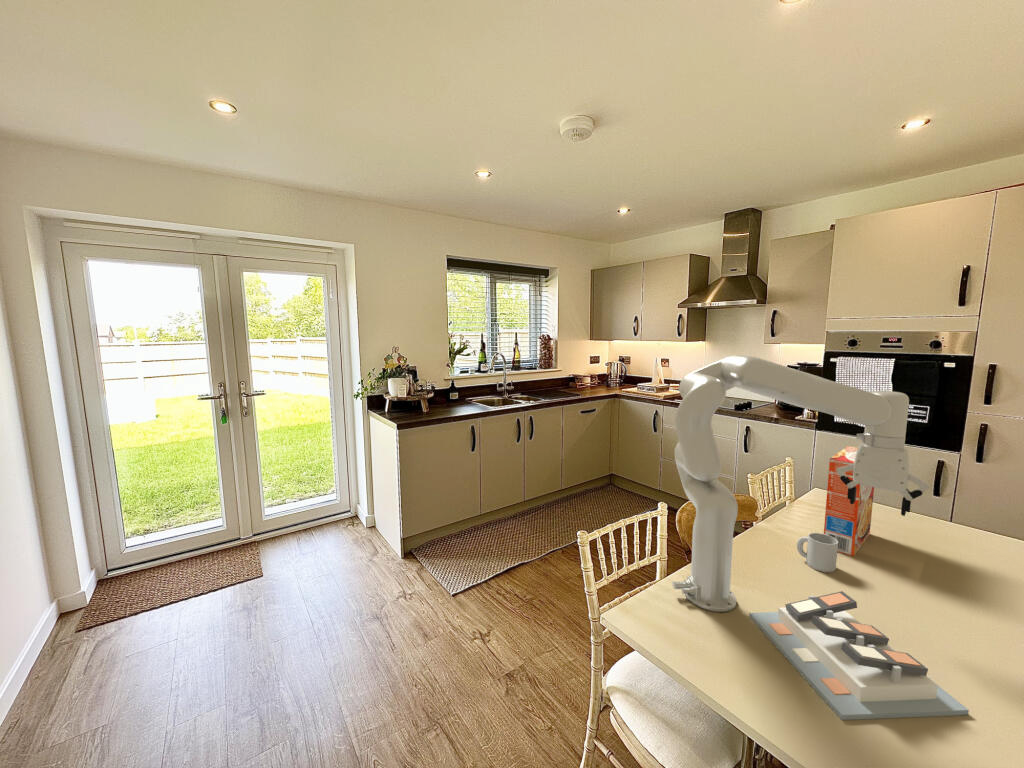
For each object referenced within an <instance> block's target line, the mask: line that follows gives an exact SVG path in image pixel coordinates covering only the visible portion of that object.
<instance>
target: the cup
mask: <svg viewBox="0 0 1024 768" xmlns="http://www.w3.org/2000/svg"><path fill="white" fill-rule="evenodd" d="M804 543H807V548H806V551H804ZM837 549H838V541H837V540H836V539H835V538H833V537H831V536H829V535H826V534H824V533H821V532H810V533H808V536H801V537H799V538H798V539H797V541H796V550H797V552H798V553H799V555H800V556H802V558H805V559H806V560H805V562H806V564H807V566H808V567H809V568H811V567H812V568H811V569H813V570H815V569H816V570H815V571H818V572H821V571H822V573H827V572H831V573H834V572H835V571H836V569H837V560H838V552H837Z"/></svg>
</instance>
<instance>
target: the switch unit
mask: <svg viewBox="0 0 1024 768" xmlns="http://www.w3.org/2000/svg"><path fill="white" fill-rule="evenodd" d="M815 597H816V596H815V595H808V599H811V598H815ZM748 615H749V619H750V620H752V622H754V624H755V625H756V626H757V627H758V628H759V629H760V630H761V631H762V632H763V634H764V635H765V636H766V637H767V638H768V639H769V640H770V641H771V643H772V644H773V645H774V646H775V647H776V649H778V650H779V651H780V653H781V654H782V655H783V656H784V657H785V659H787V661H789V663H790V664H791V666H793V667H794V669H795V670H796V671H797V672H798V673H799V674H800V675H801V676H802V677H803V678H804V679H805V681H806V682H807V683H808V684H809V685H810V686H811V687H812V688H813V690H814V691H815V692H816V693H817V695H819V696H820V698H821V699H822V700H823V701H824V702H825V703H826V704H827V705H828V706H829V708H831V710H832V711H833V712H834V713H835V715H836V716H837V717H839V719H840V720H841V721H848V720H849V721H850V720H851V721H852V720H872V719H873V720H874V719H875V720H876V719H896V718H897V719H899V718H902V719H903V718H919V717H920V718H921V717H922V718H923V717H941V716H942V717H948V716H949V717H951V716H969V712H970V709H968V708H967V707H966V706H964V705H963V704H962V703H961V702H960V701H958V700H957V699H956V698H954V697H953V696H952V695H951V694H949V693H948V691H946V690H945V689H943V688H942V687H940V685H939V684H938V683H936V681H934V680H933V679H932V678H931V677H929V676H928V675H926V676H922V675H916V674H910V673H904V672H901V671H902V668H901V667H900V666H893V667H892V670H886V669H880V668H874V667H868V666H862V665H858V664H857V663H855V662H854V661H853V660H852V659H851V658H850V657H849V656H848V655H847V654H846V653H845V652H843V651H842V650H841V647H842V644H843V642H844V643H850V644H856V645H862V646H868V647H874V648H879V649H885V650H891V651H896V650H895V649H894V648H893V647H891V646H890V645H889V644H887V645H882V644H877V643H871V642H865V641H864V637H863V636H862V635H861V636H856V640H853V639H847V638H841V637H835V636H829V635H825V634H824V633H823V632H822V631H821V630H819V629H818V628H817V627H816V626H815V625H814V624H813V623H812V622H811V620H812V618H811V619H806V620H802V621H797V620H796V619H795V618H794V617H793V616H792V615H791V614H790V613H789V612H788V611H787V610H786V606H785V607H784V606H783V607H778V611H771V612H769V611H767V612H749V614H748ZM820 617H825V618H831V619H836V620H842V621H848V622H854V623H860V624H862V623H861V622H860V621H859V620H857V619H856V618H855V617H854V616H852V614H850V613H849V612H847V610H846V611H841V612H837V613H834V612H833V611H832V610H826V615H824V616H820Z"/></svg>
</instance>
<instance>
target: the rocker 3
mask: <svg viewBox="0 0 1024 768" xmlns="http://www.w3.org/2000/svg"><path fill="white" fill-rule="evenodd" d="M841 650H842V651H843V652H845V653H846V654H847V655H848V656H849V657H850V658H851V659H852V660H853V661H854V662H855V663H857V664H858V665H862V666H868V667H874V668H880V669H886V670H892V667H893V666H900V667H901V668H902V671H901V672H904V673H910V674H916V675H922V676H926V675H927V674H928V671H929V669H928V668H927V667H926V666H925V665H924V664H923V663H921V662H920V661H919V660H917V659H916V658H915V657H913V656H912V655H911V654H909V653H907V652H901V651H896V650H895V651H891V650H885V649H879V648H874V647H868V646H862V645H856V644H850V643H844V642H843V644H842V647H841ZM927 676H928V675H927Z"/></svg>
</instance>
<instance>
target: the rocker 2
mask: <svg viewBox="0 0 1024 768" xmlns="http://www.w3.org/2000/svg"><path fill="white" fill-rule="evenodd" d="M811 622H812V623H813V624H814V625H815V626H816V627H817V628H818V629H819V630H821V631H822V632H823V633H824V634H825V635H829V636H835V637H841V638H847V639H853V640H856V636H861V635H862V636H863V637H864V641H865V642H871V643H877V644H882V645H887V644H888V643H889V641H890V638H889V637H888V636H886V635H885V634H884V633H882V632H881V631H880V630H879V629H878V628H876V627H875V626H874V625H872V624H871V625H870V624H865V623H864V624H863V623H861V622H860V623H861V624H860V623H854V622H848V621H842V620H836V619H831V618H825V617H819V616H812V620H811ZM888 645H889V644H888Z"/></svg>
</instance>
